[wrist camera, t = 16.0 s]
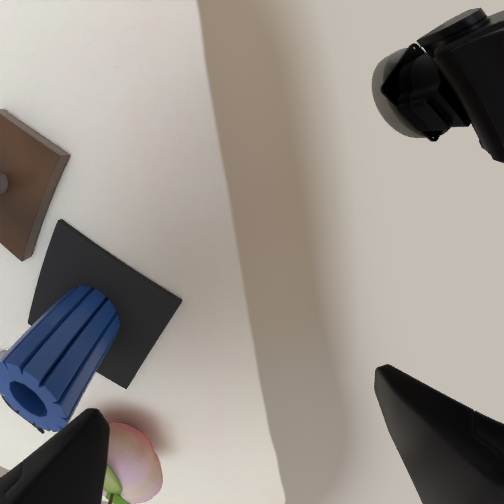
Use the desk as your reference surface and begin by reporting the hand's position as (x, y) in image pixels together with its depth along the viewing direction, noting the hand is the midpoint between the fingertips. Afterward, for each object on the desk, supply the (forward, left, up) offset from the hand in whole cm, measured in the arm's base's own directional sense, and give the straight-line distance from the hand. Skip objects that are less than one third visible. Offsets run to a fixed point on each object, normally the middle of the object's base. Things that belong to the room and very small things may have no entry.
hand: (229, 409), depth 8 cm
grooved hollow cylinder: (+10, -7, -12) cm, 18 cm away
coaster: (+10, -7, -13) cm, 18 cm away
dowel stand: (+4, -18, -13) cm, 23 cm away
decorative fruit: (+22, +1, -13) cm, 26 cm away
